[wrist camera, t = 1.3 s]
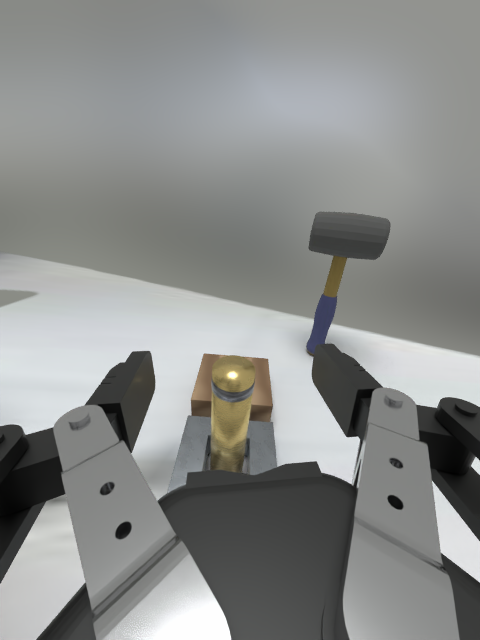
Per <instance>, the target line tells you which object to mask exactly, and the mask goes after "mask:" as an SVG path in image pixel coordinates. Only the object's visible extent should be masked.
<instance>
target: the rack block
mask: <svg viewBox="0 0 480 640" xmlns="http://www.w3.org/2000/svg"><path fill="white" fill-rule="evenodd" d="M225 356H227V355H215V354H204V355H203V358H202V362H201V366H200V369H199V373H198V376H197V380H196V383H195V387H194V391H193V394H192V398H191V411H192V416H200V417H211V410H212V387H211V382H212V367H213V365H214V363H215V362H216V361H217V360H218V359H220V358H222V357H225ZM244 358H246V359H248V360H249V361H251V362H252V363H253V365H254V366H255V369H256V373H255V384H254V390H253V395H252V402H251V409H250V417H249V421H261V422H270V417H271V412H272V407H273V404H272V394H271V384H270V374H269V364H268V359H264V358H252V357H244Z"/></svg>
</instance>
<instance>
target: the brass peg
mask: <svg viewBox="0 0 480 640" xmlns="http://www.w3.org/2000/svg"><path fill="white" fill-rule="evenodd" d="M255 373H256V369H255V366H254V365H253V363H252V362H251V361H249V360H248V359H246V358H244V357H241V356H234V355H231V356H225V357H222V358H220V359H218V360H217V361H216V362H215V363H214V365H213V367H212V382H211V387H212V410H211V461H210V470H226V471H232V472H237V473H242V468H243V461H244V453H245V446H246V439H247V431H248V424H249V417H250V409H251V402H252V395H253V390H254V384H255Z"/></svg>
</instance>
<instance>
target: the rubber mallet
mask: <svg viewBox="0 0 480 640" xmlns="http://www.w3.org/2000/svg"><path fill="white" fill-rule="evenodd" d="M389 232H390V222H389V220H388V219H385V218H380V217H374V216H369V215H362V214H356V213H341V212H318V213H317V214H316V215H315V219H314V222H313V226H312V230H311V235H310V241H309V250H311V251H314V252H319V253H324V254H329V255H333V256H334V257H333V260H332V264H331V268H330V271H329V275H328V278H327V282H326V286H325V290H324V293H323V294H322V296H321V298H320V300H319V303H318V306H317V309H316V312H315V318H314V325H313V329H312V333H311V336H310V339H309V340H308V342H307V346H306V347H307V350H308V352H309V354H311V355H314V352H315V347H316V345H317V344H325V339H326V336H327V332H328V329H329V327H330V325H331V322H332V320H333V317H334V313H335V309H336V303H337V292H338V288H339V284H340V281H341V278H342V274H343V270H344V267H345V263H346V260H347V258H357V259H370V260H375V259H377V258H378V257H380V255H381V254H382V252H383V250H384V248H385V245H386V243H387V240H388V236H389Z"/></svg>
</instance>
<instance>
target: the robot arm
mask: <svg viewBox="0 0 480 640" xmlns="http://www.w3.org/2000/svg"><path fill="white" fill-rule="evenodd" d="M312 379H313V383H314V385H315V386H316V388H317V389H318V391H319V393H320V394H321V396H322V398H323V399H324V401H325V403H326V404H327V406H328V407H329V409H330V411H331V412H332V414H333V416H334V417H335V419H336V421H337V422H338V424H339V426H340V427H341V429H342V430H343V432H344V434H345V435H346V437H356V436H358V437H359V438H360V443H359V447H358V453H357V458H356V463H355V468H354V474H353V479H352V484H350V483H348V482H346V481H344V480H342V479H340V478H337V477H335V476H332V475H329V474H325V473H321V471H320V468H319V466H318V464H317V461H315V462H304V463H292V464H285V465H282V466H279V467H276V468H274V469H271V470H268V471H265V472H263V473H260V474H257V475H249V474H243V473H237V472H232V471H226V470H210V471H198V472H187V479H186V485H183V486H180V487H178V488H176V489H174V490H172V491H170V492H169V493H167V494H166V495H164V496H163V497H162V498H160V499H159V500H158V501H157V500H156V498H155V496H154V494H153V493H152V491H151V489H150V487H149V485H148V484H147V482H146V480H145V478H144V476H143V475H142V473H141V471H140V469H139V467H138V466H137V464H136V462H135V460H134V458H133V456H132V455H131V453H132V451H133V448H134V445H135V443H136V440H137V437H138V435H139V432H140V429H141V426H142V424H143V421H144V418H145V416H146V413H147V410H148V407H149V405H150V402H151V399H152V397H153V394H154V391H155V375H154V369H153V362H152V356H151V353H150V351H135V352H132V353H131V354H130V356H129V357H128V359H127V360H126V362H125V363H119V364H118V365H116V366H115V367H113V368H112V369H111V370H110V371H109V372H108V374H107V375H106V377H105V378H104V379H103V381H102V382H101V385H99V386H98V388H97V389H96V390H95V392H94V393H93V395H92V396H91V397H90V399H89V400H88V401H87V403H86V404H85V406H81V407H78V408H75V409H73V410H71V411H69V412H67V413H66V414H64V415H63V416H62V417H61V418H59V420H58V421H57V422H56V423H55V425H54V427H53V428H50V429H46V430H43V431H39V432H35V433H32V434H28V435H25V433H24V431H23V429H22V427H20V426H19V425H5V426H0V583H1V581H2V580H3V578H4V576H5V574H6V572H7V571H8V569H9V567H10V565H11V563H12V562H13V560H14V558H15V556H16V554H17V553H18V551H19V549H20V547H21V545H22V544H23V542H24V540H25V538H26V536H27V535H28V533H29V531H30V529H31V527H32V526H33V524H34V522H35V520H36V518H37V517H38V515H39V513H40V511H41V509H42V508H43V506H44V504H45V502H46V501H48V500H50V499H53V498H56V497H58V496H61V495H64V494H66V498H67V503H68V507H69V511H70V516H71V520H72V525H73V529H74V533H75V538H76V542H77V546H78V551H79V555H80V560H81V564H82V568H83V573H84V577H85V581H86V582H85V583H84V585H83V586H82V587H81V588H80V589H79V590H78V592H77V593H76V594H75V595H74V596H73V597H72V599H71V600H70V601H69V602H68V603H67V604H66V606H65V607H64V608H63V609H62V610H61V611H60V613H59V614H58V615H57V616H56V617H55V618H54V620H53V621H52V622H51V623H50V624H49V625H48V627H47V628H46V629H45V630H44V631H43V632H42V634H41V635H40V636H39V637H38V638H37V639H36V640H480V583H479V582H478V581H477V580H476V579H474V578H473V577H472V576H470V575H469V574H468V573H466V572H465V571H464V570H463V569H461V568H460V567H459V566H457V565H456V564H455V563H454V562H452V561H451V560H450V559H448V558H447V557H446V556H444V555H443V554H442V553H441V552H440V543H439V535H438V527H437V519H436V511H435V502H434V494H433V486H432V481H433V482H434V483H435V485H436V486H437V487H438V488H439V490H440V491H441V492H442V494H443V495H444V496H445V497H446V499H447V500H448V501H449V502H450V504H451V505H452V506H453V508H454V509H455V510H456V511H457V513H458V514H459V515H460V517H461V518H462V519H463V520H464V522H465V523H466V524H467V526H468V527H469V528H470V529H471V531H472V532H473V533H474V535H475V536H476V537H477V538H478V540H479V541H480V475H479V474H478V473H477V472H476V471H475V470H474V469H473V468H472V467H471V464H472V462H473V461H474V459H475V457H477V458H478V459H479V460H480V407H478V406H476V405H474V404H472V403H470V402H468V401H465V400H462V399H458V398H451V397H447V398H442V399H441V400H440V402H439V404H438V407H437V408H433V407H427V406H420V405H416V404H415V402H414V401H413V400H412V399H411V398H410V397H409V396H407V395H406V394H404V393H402V392H400V391H397V390H394V389H391V388H383V387H382V386H381V385H380V384H379V383H378V382H377V381H376V380H375V379H374V378H373V377H372V376H371V375H370V374H369V373H368V372H367V371H365V369H364V368H363V367H362V366H360V364H359V363H358V362H357V361H356V360H355V359H354V358H352V357H350V356H348V355H347V354H345V353H341V352H340V350H339V349H338V348H337V347H336V346H335V345H334V344H317V345H316V347H315V352H314V359H313V366H312Z"/></svg>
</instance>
